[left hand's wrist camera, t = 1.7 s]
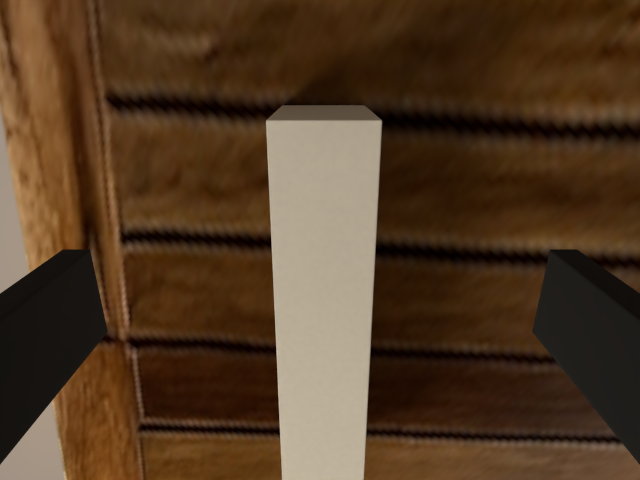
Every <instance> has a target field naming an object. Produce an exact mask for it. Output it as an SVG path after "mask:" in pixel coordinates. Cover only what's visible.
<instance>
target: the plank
mask: <svg viewBox="0 0 640 480" xmlns="http://www.w3.org/2000/svg"><path fill="white" fill-rule="evenodd" d="M266 131H267V153H268V175H269V197H270V219H271V241H272V263H273V285H274V307H275V329H276V351H277V373H278V395H279V417H280V440H281V462H282V480H364V464H365V444H366V425H367V406H368V386H369V367H370V348H371V328H372V309H373V290H374V270H375V251H376V232H377V212H378V193H379V173H380V154H381V135H382V120H381V119H380V118H379V117H377V116H376V115H375V114H374V113H373V112H372V111H370V110H369V109H368V108H367V107H366V106H364V105H283V106H281V107H280V108H279V109H278V110H277V111H276V112H275V113H274V114H273V115H272V116H271V117H269V118H268V119H267V120H266Z"/></svg>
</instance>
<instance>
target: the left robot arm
mask: <svg viewBox="0 0 640 480" xmlns="http://www.w3.org/2000/svg"><path fill="white" fill-rule="evenodd" d="M106 333H107V327H106V322H105V318H104V313H103V308H102V304H101V299H100V294H99V290H98V285H97V280H96V276H95V271H94V267H93V262H92V257H91V253H90V250H62V251H60V252H59V253H57V254H56V255H55V256H53V257H52V258H50V259H49V260H48V261H46V262H45V263H43V264H42V265H40V266H39V267H38V268H36V269H35V270H33V271H32V272H30V273H29V274H28V275H26V276H25V277H23V278H22V279H20V280H19V281H18V282H16V283H15V284H13V285H12V286H11V287H9V288H8V289H6V290H5V291H3V292H2V293H1V294H0V464H1V463H2V462H3V460H4V459H5V458H6V457H7V455H8V454H9V453H10V452H11V450H12V449H13V448H14V447H15V446H16V444H17V443H18V442H19V441H20V439H21V438H22V437H23V436H24V434H25V433H26V432H27V431H28V429H29V428H30V427H31V426H32V425H33V423H34V422H35V421H36V420H37V418H38V417H39V416H40V415H41V413H42V412H43V411H44V410H45V408H46V407H47V406H48V405H49V404H50V402H51V401H52V400H53V399H54V397H55V396H56V395H57V394H58V392H59V391H60V390H61V389H62V387H63V386H64V385H65V384H66V383H67V381H68V380H69V379H70V378H71V376H72V375H73V374H74V373H75V371H76V370H77V369H78V368H79V366H80V365H81V364H82V363H83V362H84V360H85V359H86V358H87V357H88V355H89V354H90V353H91V352H92V350H93V349H94V348H95V347H96V345H97V344H98V343H99V342H100V341H101V339H102V338H103V337H104V336H105V334H106ZM533 333H534V334H535V336H536V337H537V338H538V339H539V341H540V342H541V343H542V344H543V345H544V347H545V348H546V349H547V350H548V352H549V353H550V354H551V355H552V357H553V358H554V359H555V360H556V362H557V363H558V364H559V365H560V366H561V368H562V369H563V370H564V371H565V373H566V374H567V375H568V376H569V378H570V379H571V380H572V381H573V383H574V384H575V385H576V386H577V387H578V389H579V390H580V391H581V392H582V394H583V395H584V396H585V397H586V399H587V400H588V401H589V402H590V404H591V405H592V406H593V407H594V408H595V410H596V411H597V412H598V413H599V415H600V416H601V417H602V418H603V420H604V421H605V422H606V423H607V425H608V426H609V427H610V428H611V429H612V431H613V432H614V433H615V434H616V436H617V437H618V438H619V439H620V441H621V442H622V443H623V444H624V446H625V447H626V448H627V449H628V451H629V452H630V453H631V454H632V455H633V457H634V458H635V459H636V460H637V462H638V463H639V464H640V293H638V292H637V291H635V290H634V289H632V288H631V287H630V286H628V285H627V284H625V283H624V282H622V281H621V280H620V279H618V278H617V277H615V276H614V275H612V274H611V273H610V272H608V271H607V270H605V269H604V268H602V267H601V266H600V265H598V264H597V263H595V262H594V261H592V260H591V259H590V258H588V257H587V256H585V255H584V254H583V253H581V252H580V251H578V250H550V253H549V257H548V262H547V267H546V271H545V276H544V280H543V285H542V290H541V294H540V299H539V304H538V308H537V313H536V318H535V322H534V327H533Z"/></svg>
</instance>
